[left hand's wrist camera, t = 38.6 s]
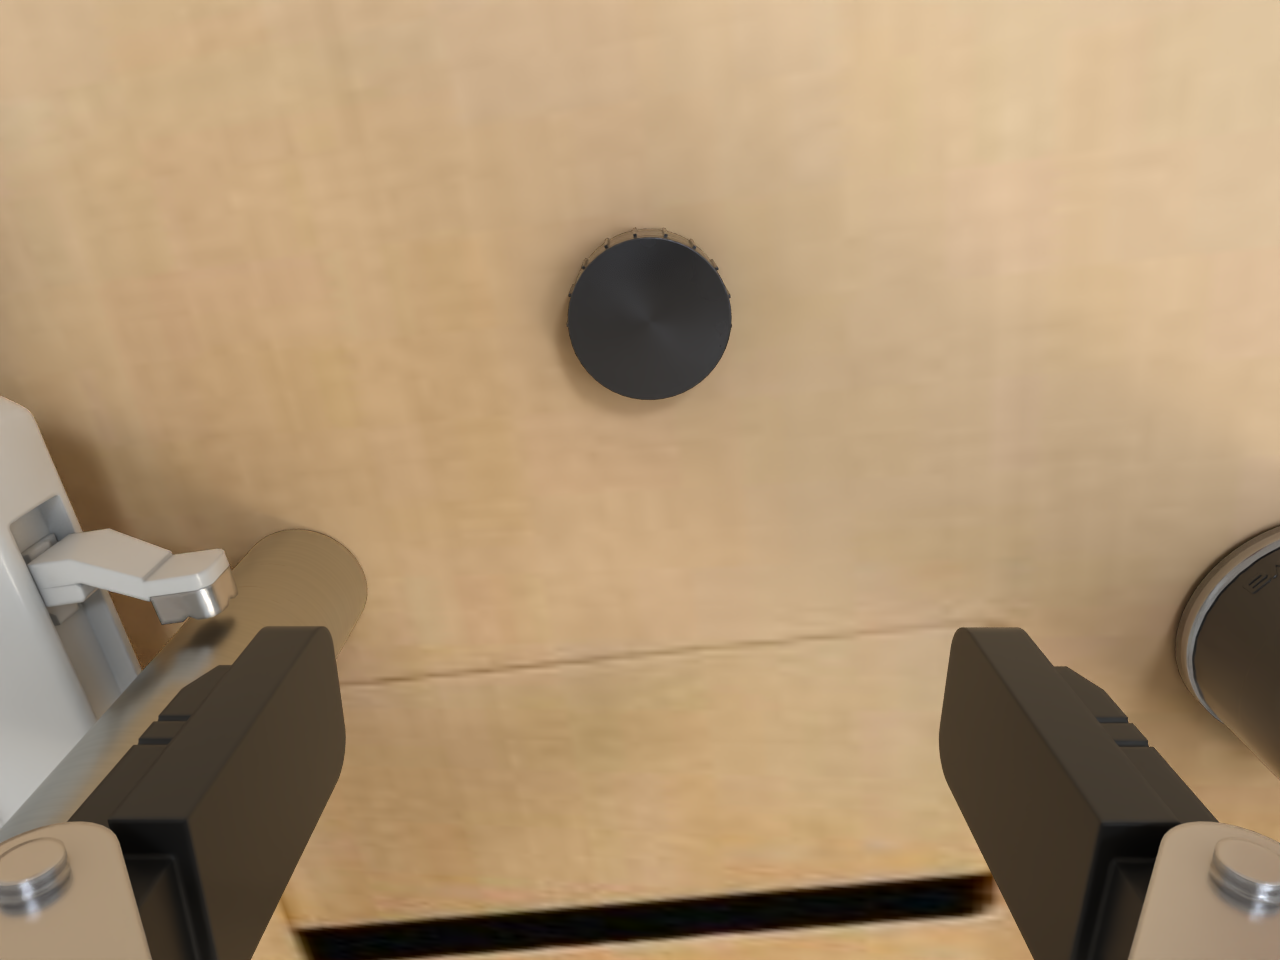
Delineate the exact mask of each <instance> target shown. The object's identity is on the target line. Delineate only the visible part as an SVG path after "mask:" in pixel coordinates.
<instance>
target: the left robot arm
mask: <svg viewBox="0 0 1280 960" xmlns="http://www.w3.org/2000/svg"><path fill="white" fill-rule="evenodd" d="M1175 649H1176V661H1177V666H1178V670H1179V673H1180V676H1181V678H1182V680H1183V682H1184V684H1185V686H1186V687H1187V689H1188V690H1189V692H1190V693H1191V694H1192V695H1193V696H1194V698H1195V699H1196V700H1197V701H1198V702H1199V703H1200V704H1201V705H1202V706H1203V707H1204V708H1205V709H1206V710H1207V711H1208V712H1209V713H1210V714H1211V715H1213V716H1214V717H1215V718H1216V719H1217V720H1219V721H1220V722H1221V723H1223V724H1225V725H1226V726H1227V727H1228V728H1229V729H1230V730H1231V731H1232V732H1233V733H1234V734H1235V735H1236V736H1237V737H1238V738H1239V739H1240V740H1241V741H1242V742H1243V743H1244V744H1245V745H1246V746H1247V747H1248V748H1249V749H1250V750H1251V751H1252V752H1253V753H1254V754H1255V755H1256V756H1257V758H1258V759H1259V760H1260V761H1261V762H1262V763H1263V764H1264V765H1265V766H1266V767H1267V768H1268V769H1269V770H1270V771H1271V772H1272V773H1273V774H1274V775H1275V776H1276V777H1277V778H1278V779H1279V780H1280V526H1278V527H1276V528H1273V529H1271V530H1268V531H1266V532H1264V533H1262V534H1260V535H1258V536H1256V537H1254V538H1252V539H1251V540H1249V541H1247V542H1245V543H1244V544H1242V545H1241V546H1240V547H1238V548H1237V549H1235V550H1234V551H1232V552H1231V553H1230V554H1229V555H1227V556H1226V557H1225V558H1224V559H1222V560H1221V561H1220V562H1219V563H1218V564H1217V565H1216V566H1215V567H1214V568H1213V569H1212V570H1211V571H1210V572H1209V573H1208V574H1207V575H1206V576H1205V578H1204V579H1203V580H1202V581H1201V583H1200V584H1199V585H1198V587H1197V588H1196V590H1195V591H1194V593H1193V594H1192V596H1191V598H1190V599H1189V601H1188V603H1187V605H1186V607H1185V609H1184V612H1183V614H1182V616H1181V619H1180V623H1179V626H1178V630H1177V635H1176V645H1175ZM138 740H139V741H138V745H133V746H132V747H131V748H130V749H129V750H128V751H127V753H126V754H125V755H124V756H123V757H122V758H121V760H120V761H119V762H118V763H117V764H116V765H115V766H114V768H113V769H112V770H111V771H110V772H109V773H108V775H107V776H106V777H105V778H104V779H103V780H102V782H101V783H100V784H99V785H98V786H97V787H96V788H95V790H94V791H93V792H92V793H91V794H90V795H89V797H88V798H87V799H86V800H85V801H84V802H83V803H82V805H81V806H80V807H79V808H78V809H77V810H76V812H75V813H74V814H73V815H72V816H71V817H70V819H69V820H68V821H67V822H63V823H56V824H51V825H47V826H42V827H39V828H36V829H32V830H29V831H26V832H24V833H21V834H19V835H16V836H14V837H11V838H9V839H7V840H5V841H3V842H1V843H0V960H251V958H252V956H253V954H254V952H255V950H256V948H257V946H258V943H259V941H260V939H261V937H262V935H263V933H264V931H265V929H266V927H267V925H268V923H269V921H270V919H271V917H272V915H273V913H274V911H275V908H276V906H277V904H278V902H279V900H280V898H281V896H282V894H283V892H284V890H285V888H286V886H287V884H288V882H289V880H290V878H291V876H292V873H293V871H294V869H295V867H296V865H297V863H298V861H299V859H300V857H301V855H302V853H303V851H304V849H305V847H306V845H307V843H308V841H309V838H310V836H311V834H312V832H313V830H314V828H315V826H316V824H317V822H318V820H319V818H320V816H321V814H322V812H323V810H324V808H325V806H326V804H327V801H328V799H329V797H330V795H331V793H332V791H333V789H334V787H335V785H336V783H337V781H338V778H339V776H340V773H341V769H342V765H343V760H344V753H345V724H344V717H343V709H342V702H341V695H340V688H339V680H338V673H337V666H336V658H335V651H334V644H333V639H332V636H331V633H330V631H329V630H328V628H326V627H324V626H266V627H263V628H262V629H261V630H260V631H259V632H258V633H257V634H256V636H255V637H254V638H253V639H252V641H251V642H250V643H249V644H248V645H247V647H246V648H245V649H244V650H243V652H242V653H241V654H240V655H239V657H238V658H237V659H236V660H235V662H234V663H233V664H232V665H218V666H216V667H215V668H213V669H212V670H210V671H208V672H207V673H205V674H204V675H202V676H201V677H199V678H197V679H196V680H194V681H193V682H191V683H190V684H188V685H187V686H185V687H183V688H182V689H181V690H180V691H179V692H178V694H177V695H176V696H175V697H174V698H173V699H172V700H171V702H170V703H169V704H168V705H167V706H166V707H165V709H164V710H163V711H162V712H161V713H160V714H159V716H158V721H153V722H152V724H151V725H150V726H149V727H148V728H147V729H146V731H145V732H144V733H143V734H142V735H141V736H140V738H139V739H138ZM939 750H940V759H941V764H942V769H943V773H944V776H945V779H946V781H947V783H948V786H949V788H950V790H951V792H952V794H953V796H954V798H955V800H956V802H957V804H958V806H959V808H960V810H961V812H962V814H963V816H964V818H965V820H966V822H967V824H968V826H969V828H970V830H971V832H972V834H973V836H974V838H975V840H976V842H977V844H978V847H979V849H980V851H981V853H982V855H983V857H984V859H985V861H986V863H987V865H988V867H989V869H990V871H991V873H992V875H993V877H994V879H995V881H996V883H997V885H998V887H999V889H1000V891H1001V893H1002V895H1003V897H1004V899H1005V901H1006V903H1007V905H1008V907H1009V910H1010V912H1011V914H1012V916H1013V918H1014V920H1015V922H1016V924H1017V926H1018V928H1019V930H1020V932H1021V934H1022V936H1023V938H1024V940H1025V942H1026V944H1027V946H1028V948H1029V950H1030V952H1031V954H1032V956H1033V958H1034V960H1280V843H1279V842H1277V841H1275V840H1273V839H1271V838H1269V837H1266V836H1264V835H1261V834H1259V833H1256V832H1254V831H1251V830H1248V829H1244V828H1241V827H1238V826H1233V825H1229V824H1224V823H1219V822H1218V821H1217V819H1216V818H1215V817H1214V816H1213V815H1212V814H1211V813H1210V811H1209V810H1208V809H1207V808H1206V807H1205V806H1204V805H1203V803H1202V802H1201V801H1200V800H1199V799H1198V798H1197V797H1196V795H1195V794H1194V793H1193V792H1192V791H1191V790H1190V789H1189V787H1188V786H1187V785H1186V784H1185V783H1184V782H1183V780H1182V779H1181V778H1180V777H1179V776H1178V775H1177V774H1176V772H1175V771H1174V770H1173V769H1172V768H1171V767H1170V766H1169V764H1168V763H1167V762H1166V761H1165V760H1164V759H1163V758H1162V756H1161V755H1160V754H1159V753H1158V752H1157V751H1156V750H1155V748H1154V747H1149V746H1148V740H1147V739H1146V738H1145V737H1144V736H1143V735H1142V733H1141V732H1140V731H1139V730H1138V729H1137V728H1136V727H1135V725H1134V724H1133V723H1128V717H1127V716H1126V715H1125V714H1124V713H1123V712H1122V711H1121V709H1120V708H1119V707H1118V706H1117V705H1116V704H1115V703H1114V701H1113V700H1112V699H1111V698H1110V697H1109V696H1108V694H1107V693H1106V692H1105V691H1104V690H1103V689H1101V688H1100V687H1098V686H1096V685H1095V684H1093V683H1092V682H1090V681H1089V680H1087V679H1085V678H1084V677H1082V676H1081V675H1079V674H1077V673H1076V672H1074V671H1073V670H1071V669H1070V668H1068V667H1054V666H1053V665H1052V664H1051V663H1050V661H1049V660H1048V659H1047V658H1046V656H1045V655H1044V654H1043V653H1042V651H1041V650H1040V649H1039V648H1038V647H1037V645H1036V644H1035V643H1034V642H1033V640H1032V639H1031V638H1030V637H1029V636H1028V634H1027V633H1026V632H1025V631H1024V630H1023V629H1021V628H959V629H958V630H957V631H956V632H955V634H954V637H953V640H952V644H951V650H950V657H949V665H948V672H947V679H946V686H945V693H944V701H943V708H942V715H941V722H940V730H939Z"/></svg>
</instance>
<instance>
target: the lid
mask: <svg viewBox="0 0 1280 960" xmlns="http://www.w3.org/2000/svg"><path fill="white" fill-rule="evenodd" d="M717 270H718V267H717V266H716V264H715V262H714V261H713V259H711V260H709V258H708V257H707V256H706V255H705V254H704V252H703V251H702V250H701V249H700V248H698V247H697V246H696V245H695V243H694V241H693V240H692V239H690V240H687V239H686V238H684V237H682V236H679V235H677V234H675V233H672V232H668V231H667V230H666V228H663V229H662V230H658V229H640V230H636V228H633V231H629V232H625V233H623V234H620V235H618V236H615V237H614V238H612V239H610V240H609V239H608V238H607V239H605V243H604V244H603V245H601V246H600V247H599V248H598V249H597V250H596V251H595V252H594V253H593V254H592V255H591V256H590V257H589V258H588V259H587V258H585V260H584V262H583V265H582V269H581V271H580V273H579V275H578V278H577V280H576V283H575V285H572V287H571V290H570V293H569V297H571V298H570V302H569V309H568V321H567V327H568V329H569V336H570V339H571V343H572V346H573V349H574V351H575V354H576V356H577V357H578V359H579V361H580V362H581V364H582V365H583V367H584V368H585V369H586V371H587V372H588V373H589V374H590V375H591V376H592V377H593V378H594V379H595V380H596V381H598V382H599V383H600V384H601V385H603V386H604V387H606V388H608V389H609V390H611V391H613V392H615V393H618V394H620V395H622V396H626V397H630V398H634V399H641V400H656V399H664V398H668V397H673V396H676V395H678V394H681V393H683V392H685V391H687V390H689V389H691V388H693V387H694V386H696V385H697V384H698V383H700V382H701V381H702V380H703V379H704V378H706V377H707V376H708V375H709V374H710V372H711V371H712V370H713V369H714V368H715V366H716V365H717V363H718V362H719V360H720V359H721V357H722V355H723V353H724V351H725V349H726V346H727V343H728V340H729V336H730V330H731V328H732V324H731V319H732V316H731V305H730V300H729V298H731V297H730V294H729V292H728V290H727V289H726V287H725V285H724V283H723V281H722V279H721V277H720V275H719V274H718V272H717Z"/></svg>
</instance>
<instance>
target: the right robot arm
mask: <svg viewBox="0 0 1280 960" xmlns="http://www.w3.org/2000/svg"><path fill="white" fill-rule="evenodd" d="M108 591H111V592H115V593H119V594H123V595H126V596H130V597H134V598H138V599H141V600H145V601H149V602H150V601H151V602H152V604H153V606H154V609H155V611H156V613H157V615H158V618H159V620H160V622H161V624H162V625H163V624H171V623H178V622H183V621H184V620H185V619H186V618H187V617H188V616H189V617H192V618H194V619H197V620H200V619H206V618H210V617H213V616H216V615H217V614H219V613H221V612H223V611H224V610H225V609H226V608H227V607H228V606H229V601H230V599H233V598H235V597H236V596H237V595H238V589H237V586H236V583H235V580H234V577H233V574H232V571H231V568H230V565H229V562H228V560H227V557H226V554H225V552H224V550H223V549H219V548H217V549H210V550H203V551H196V552H188V553H181V554H174V555H173V554H172V552H171V551H170V550H167V549H164V548H162V547H159V546H156V545H153V544H151V543H148V542H145V541H143V540H140V539H137V538H134V537H132V536H129V535H126V534H123V533H121V532H118V531H115V530H113V529H110V528H108V529H101V530H95V531H88V532H83V531H82V529H81V526H80V524H79V522H78V519H77V517H76V515H75V512H74V510H73V508H72V505H71V503H70V501H69V498H68V496H67V494H66V491H65V489H64V486H63V484H62V482H61V479H60V477H59V475H58V472H57V470H56V468H55V465H54V463H53V461H52V458H51V456H50V454H49V451H48V449H47V447H46V444H45V442H44V440H43V437H42V435H41V432H40V430H39V427H38V425H37V423H36V421H35V419H34V417H33V415H32V413H31V412H30V411H29V410H28V409H27V408H25V407H23V406H21V405H20V404H18V403H16V402H14V401H11V400H9V399H7V398H5V397H3V396H1V395H0V829H1V828H2V827H3V826H4V825H5V823H6V822H7V821H8V820H9V819H10V818H11V817H12V816H13V815H14V813H15V812H16V811H17V810H18V809H19V808H20V807H21V806H22V805H23V803H24V802H25V801H26V800H27V799H28V798H29V797H30V796H31V794H32V793H33V792H34V791H35V790H36V789H37V788H38V787H39V786H40V784H41V783H42V782H43V781H44V780H45V779H46V778H47V777H48V775H49V774H50V773H51V772H52V771H53V770H54V769H55V768H56V767H57V765H58V764H59V763H60V762H61V761H62V760H63V759H64V758H65V757H66V755H67V754H68V753H69V752H70V751H71V750H72V749H73V748H74V746H75V745H76V744H77V743H78V742H79V741H80V740H81V739H82V738H83V736H84V735H85V734H86V733H87V732H88V731H89V730H90V729H91V727H92V726H93V725H94V724H95V723H96V722H97V721H98V720H99V719H100V717H101V716H102V715H103V714H104V713H105V712H106V711H107V710H108V708H109V707H110V706H111V705H112V704H113V703H114V702H115V701H116V700H117V698H118V697H119V696H120V695H121V694H122V693H123V692H124V691H125V690H126V688H127V687H128V686H129V685H130V684H131V683H132V682H133V681H134V679H135V678H136V677H137V676H138V675H139V674H140V673H141V672H142V669H141V666H140V664H139V662H138V659H137V657H136V655H135V652H134V650H133V648H132V645H131V643H130V641H129V638H128V636H127V634H126V631H125V629H124V627H123V624H122V622H121V620H120V617H119V615H118V613H117V610H116V608H115V606H114V603H113V601H112V599H111V596H110V594H109V592H108Z"/></svg>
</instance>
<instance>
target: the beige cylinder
mask: <svg viewBox="0 0 1280 960" xmlns="http://www.w3.org/2000/svg"><path fill="white" fill-rule="evenodd" d="M232 574H233V577H234V580H235V583H236V586H237V589H238V595H237V596H236V597H235V598H233V599H230V601H229V606H228V607H227V608H226V609H225V610H224V611H223V612H221V613H219V614H217V615H216V616H213V617H210V618H206V619H200V620H197V619H194V618H192V617H190V618H189V619H188V620H187V621H186V623H185V624H184V625H183V626H182V627H181V628H180V629H179V630H178V631H177V633H176V634H175V635H174V636H173V637H172V638H171V639H170V640H169V642H168V643H167V644H166V645H165V646H164V647H163V648H162V649H161V650H160V652H159V653H158V654H157V655H156V656H155V657H154V658H153V659H152V660H151V662H150V663H149V664H148V665H147V666H146V667H145V668H144V669H143V671H142V672H141V673H140V674H139V675H138V676H137V677H136V678H135V679H134V681H133V682H132V683H131V684H130V685H129V686H128V687H127V688H126V690H125V691H124V692H123V693H122V694H121V695H120V696H119V697H118V698H117V700H116V701H115V702H114V703H113V704H112V705H111V706H110V707H109V708H108V710H107V711H106V712H105V713H104V714H103V715H102V716H101V717H100V719H99V720H98V721H97V722H96V723H95V724H94V725H93V726H92V727H91V729H90V730H89V731H88V732H87V733H86V734H85V735H84V736H83V738H82V739H81V740H80V741H79V742H78V743H77V744H76V745H75V746H74V748H73V749H72V750H71V751H70V752H69V753H68V754H67V755H66V757H65V758H64V759H63V760H62V761H61V762H60V763H59V764H58V765H57V767H56V768H55V769H54V770H53V771H52V772H51V773H50V774H49V775H48V777H47V778H46V779H45V780H44V781H43V782H42V783H41V784H40V786H39V787H38V788H37V789H36V790H35V791H34V792H33V793H32V794H31V796H30V797H29V798H28V799H27V800H26V801H25V802H24V803H23V805H22V806H21V807H20V808H19V809H18V810H17V811H16V812H15V813H14V815H13V816H12V817H11V818H10V819H9V820H8V821H7V822H6V823H5V825H4V826H3V827H2V828H1V829H0V843H1V842H3V841H5V840H7V839H9V838H11V837H14V836H16V835H19V834H21V833H24V832H26V831H29V830H32V829H36V828H39V827H42V826H47V825H51V824H56V823H63V822H67V821H68V820H69V819H70V817H71V816H72V815H73V814H74V813H75V812H76V810H77V809H78V808H79V807H80V806H81V805H82V803H83V802H84V801H85V800H86V799H87V798H88V797H89V795H90V794H91V793H92V792H93V791H94V790H95V788H96V787H97V786H98V785H99V784H100V783H101V782H102V780H103V779H104V778H105V777H106V776H107V775H108V773H109V772H110V771H111V770H112V769H113V768H114V766H115V765H116V764H117V763H118V762H119V761H120V760H121V758H122V757H123V756H124V755H125V754H126V753H127V751H128V750H129V749H130V748H131V747H132V746H133V745H138V741H139V740H138V739H139V738H140V736H141V735H142V734H143V733H144V732H145V731H146V729H147V728H148V727H149V726H150V725H151V724H152V722H153V721H158V716H159V714H160V713H161V712H162V711H163V710H164V709H165V707H166V706H167V705H168V704H169V703H170V702H171V700H172V699H173V698H174V697H175V696H176V695H177V694H178V692H179V691H180V690H181V689H182V688H183V687H185V686H187V685H188V684H190V683H191V682H193V681H194V680H196V679H197V678H199V677H201V676H202V675H204V674H205V673H207V672H208V671H210V670H212V669H213V668H215V667H216V666H218V665H232V664H233V663H234V662H235V660H236V659H237V658H238V657H239V655H240V654H241V653H242V652H243V650H244V649H245V648H246V647H247V645H248V644H249V643H250V642H251V641H252V639H253V638H254V637H255V636H256V634H257V633H258V632H259V631H260V630H261V629H262V628H263V627H266V626H324V627H326V628H328V630H329V631H330V633H331V636H332V639H333V644H334V651H335V658H336V659H337V657H338V655H339V653H340V651H341V649H342V648H343V646H344V644H345V642H346V640H347V639H348V637H349V635H350V633H351V631H352V630H353V628H354V626H355V624H356V622H357V620H358V619H359V617H360V615H361V613H362V611H363V609H364V606H365V604H366V599H367V584H366V579H365V576H364V573H363V571H362V568H361V566H360V565H359V563H358V561H357V560H356V559H355V557H354V556H353V555H352V554H351V553H350V552H349V551H348V550H347V549H346V548H345V547H344V546H343V545H341V544H340V543H339V542H337V541H335V540H334V539H332V538H330V537H328V536H326V535H323V534H320V533H318V532H313V531H309V530H285V531H280V532H276V533H274V534H271V535H269V536H267V537H265V538H263V539H262V540H260V541H259V542H258V543H257V544H256V545H255V546H254V547H253V548H252V549H251V550H250V551H249V552H248V553H247V554H246V556H245V557H244V558H243V559H242V560H241V561H240V562H239V563H238V564H237V566H236V567H235V568H234V569H233V570H232Z"/></svg>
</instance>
